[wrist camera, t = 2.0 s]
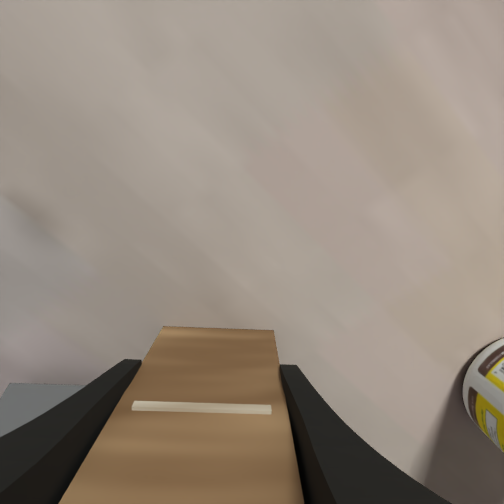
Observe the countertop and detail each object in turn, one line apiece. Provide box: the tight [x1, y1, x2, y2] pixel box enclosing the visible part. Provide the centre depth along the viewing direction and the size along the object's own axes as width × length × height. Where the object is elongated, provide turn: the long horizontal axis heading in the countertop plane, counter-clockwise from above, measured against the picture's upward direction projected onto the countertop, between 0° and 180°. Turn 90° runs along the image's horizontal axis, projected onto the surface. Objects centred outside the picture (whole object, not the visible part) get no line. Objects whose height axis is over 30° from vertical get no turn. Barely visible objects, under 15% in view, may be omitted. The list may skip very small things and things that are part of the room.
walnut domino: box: [59, 326, 304, 504], centre depth 9 cm, size 2×5×10 cm, turn 87°
